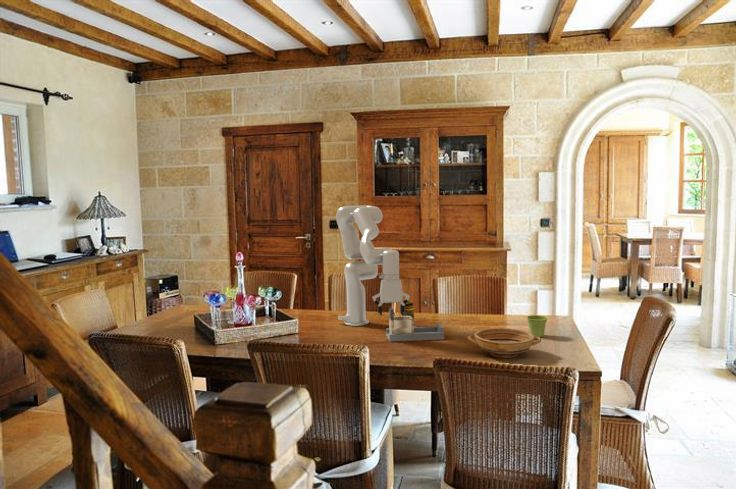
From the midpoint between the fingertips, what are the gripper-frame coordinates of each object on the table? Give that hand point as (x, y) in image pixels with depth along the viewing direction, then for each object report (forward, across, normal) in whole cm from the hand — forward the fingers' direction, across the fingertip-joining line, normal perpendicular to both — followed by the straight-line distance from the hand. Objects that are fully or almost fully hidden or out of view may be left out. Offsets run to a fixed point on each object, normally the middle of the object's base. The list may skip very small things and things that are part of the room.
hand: (391, 314), depth 265 cm
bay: (+11, +11, 0) cm, 15 cm away
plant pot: (+11, +66, -7) cm, 68 cm away
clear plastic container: (+10, +4, 0) cm, 11 cm away
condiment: (+11, +10, +20) cm, 25 cm away
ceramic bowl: (+11, +42, -32) cm, 54 cm away
